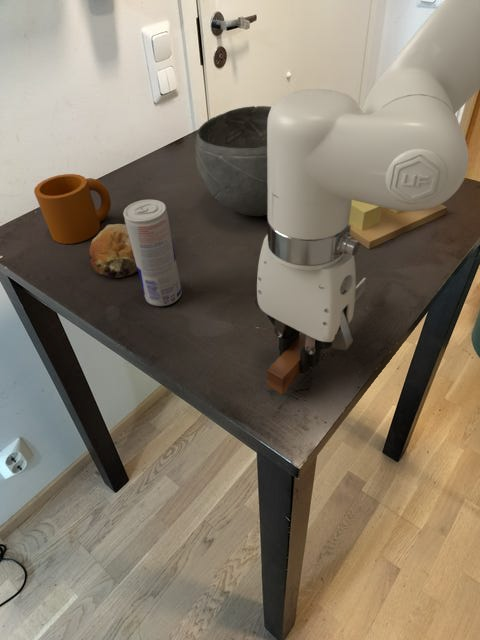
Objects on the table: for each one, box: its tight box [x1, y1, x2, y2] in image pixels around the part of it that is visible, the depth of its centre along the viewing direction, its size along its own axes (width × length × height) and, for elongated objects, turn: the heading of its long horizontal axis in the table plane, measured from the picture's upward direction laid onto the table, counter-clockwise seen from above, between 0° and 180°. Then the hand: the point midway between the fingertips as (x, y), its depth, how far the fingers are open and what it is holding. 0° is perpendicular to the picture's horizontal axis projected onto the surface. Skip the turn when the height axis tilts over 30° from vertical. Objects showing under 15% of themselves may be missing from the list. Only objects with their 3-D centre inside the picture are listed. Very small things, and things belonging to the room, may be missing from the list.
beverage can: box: [122, 199, 183, 307], centre depth 65 cm, size 6×6×15 cm
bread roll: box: [88, 223, 138, 279], centre depth 76 cm, size 10×10×8 cm
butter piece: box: [349, 200, 382, 231], centre depth 79 cm, size 4×5×4 cm
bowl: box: [194, 105, 272, 217], centre depth 83 cm, size 21×21×15 cm
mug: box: [33, 173, 112, 245], centre depth 82 cm, size 9×12×9 cm
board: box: [349, 203, 448, 250], centre depth 83 cm, size 18×12×2 cm, turn 122°
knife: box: [266, 277, 367, 395], centre depth 59 cm, size 21×2×3 cm, turn 141°
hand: (298, 360), depth 57 cm, fingers closed on knife, 2 cm apart
